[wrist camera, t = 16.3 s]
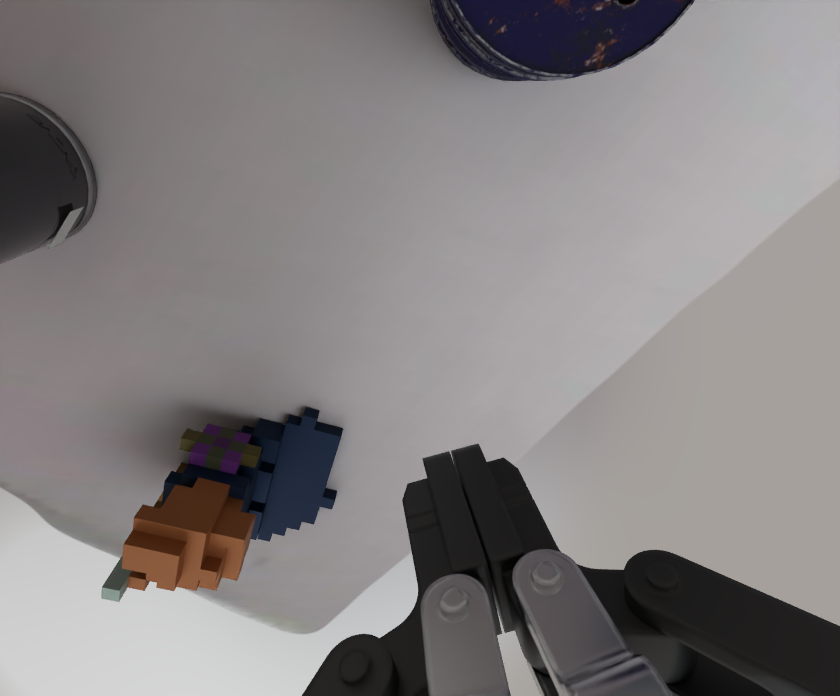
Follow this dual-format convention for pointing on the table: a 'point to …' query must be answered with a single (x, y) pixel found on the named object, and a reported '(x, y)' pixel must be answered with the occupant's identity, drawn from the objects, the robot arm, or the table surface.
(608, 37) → the navy blue cylinder
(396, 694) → the robot arm
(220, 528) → the blocky voxel figure
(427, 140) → the table surface
